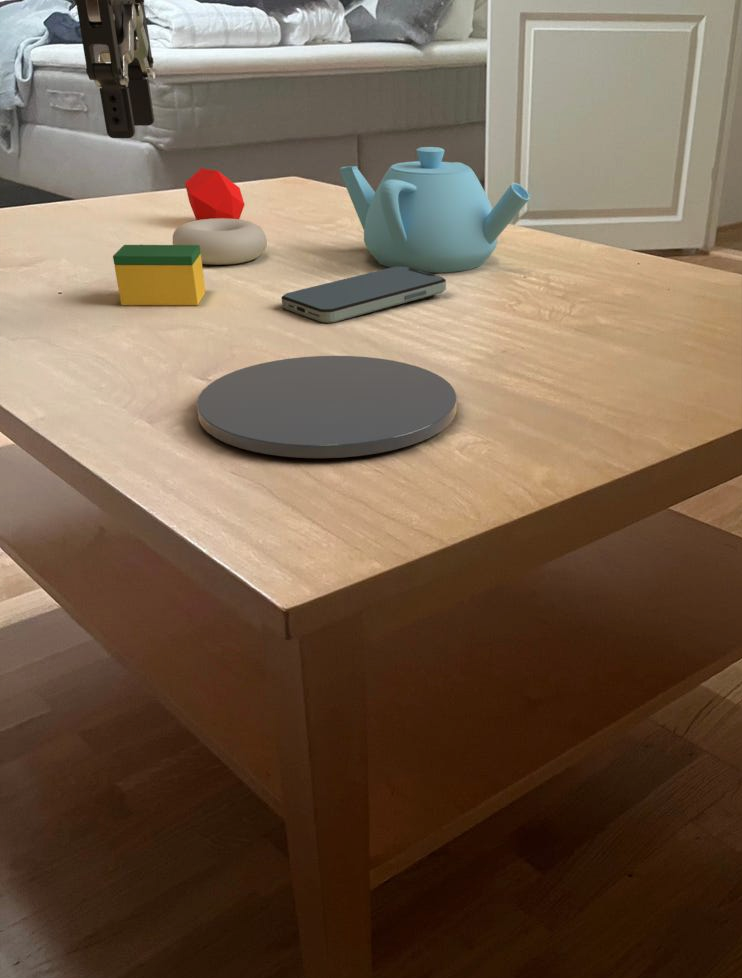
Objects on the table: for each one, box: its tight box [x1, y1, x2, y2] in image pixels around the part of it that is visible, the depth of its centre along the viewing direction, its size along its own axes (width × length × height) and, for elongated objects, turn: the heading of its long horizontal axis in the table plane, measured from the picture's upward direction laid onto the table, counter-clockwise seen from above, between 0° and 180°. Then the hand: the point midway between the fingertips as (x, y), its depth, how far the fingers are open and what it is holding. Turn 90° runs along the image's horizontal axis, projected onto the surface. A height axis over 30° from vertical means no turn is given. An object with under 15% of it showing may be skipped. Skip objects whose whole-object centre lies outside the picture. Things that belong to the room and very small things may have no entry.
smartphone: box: [281, 266, 447, 324], centre depth 95 cm, size 8×2×15 cm
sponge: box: [112, 244, 206, 306], centre depth 94 cm, size 7×5×4 cm, turn 94°
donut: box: [172, 218, 268, 266], centre depth 108 cm, size 10×4×10 cm
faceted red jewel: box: [184, 168, 246, 221], centre depth 123 cm, size 7×7×8 cm
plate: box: [196, 355, 458, 459], centre depth 71 cm, size 18×18×1 cm
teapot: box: [338, 146, 531, 274], centre depth 107 cm, size 15×17×11 cm
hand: (132, 131), depth 88 cm, fingers open, 8 cm apart
